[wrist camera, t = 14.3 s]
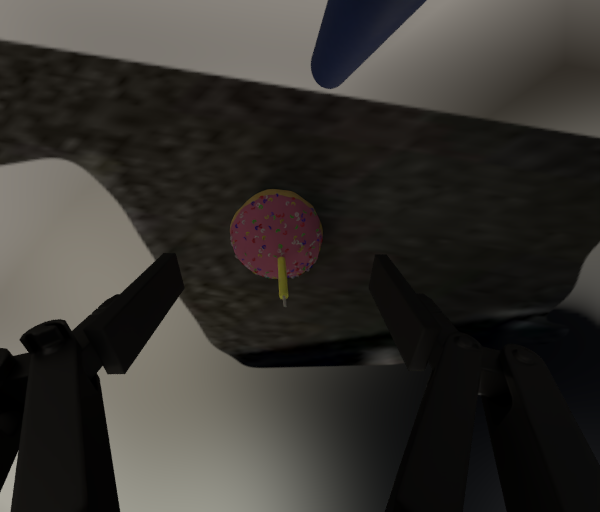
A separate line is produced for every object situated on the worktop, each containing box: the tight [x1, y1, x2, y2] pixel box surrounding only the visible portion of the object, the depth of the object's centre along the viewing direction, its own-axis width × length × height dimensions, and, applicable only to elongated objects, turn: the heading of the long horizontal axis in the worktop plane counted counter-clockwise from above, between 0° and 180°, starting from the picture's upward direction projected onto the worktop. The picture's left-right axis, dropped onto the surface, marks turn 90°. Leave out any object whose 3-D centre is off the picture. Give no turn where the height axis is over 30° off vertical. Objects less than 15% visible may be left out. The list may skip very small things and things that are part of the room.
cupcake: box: [230, 189, 323, 307], centre depth 20 cm, size 9×8×12 cm
